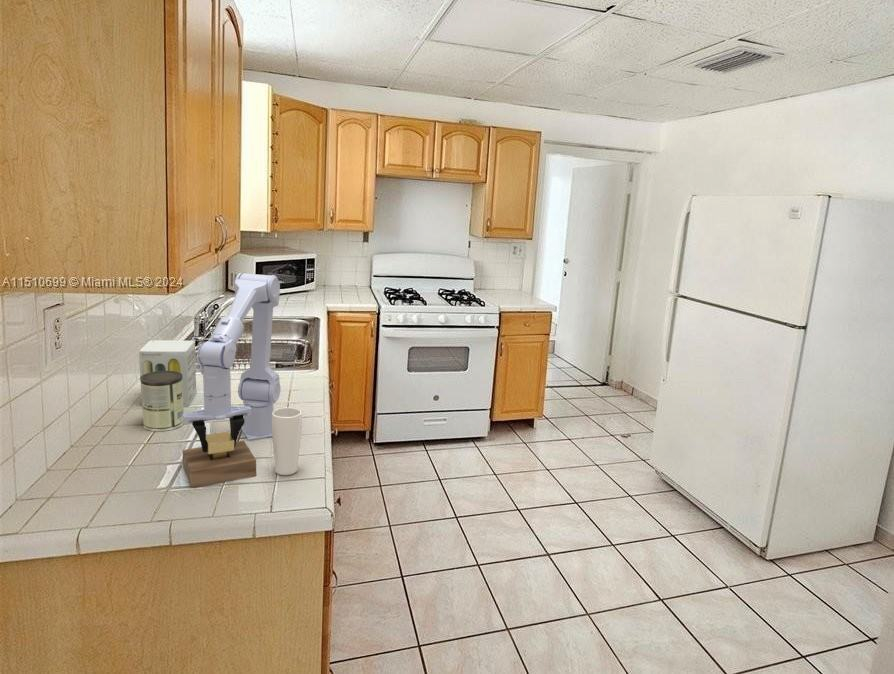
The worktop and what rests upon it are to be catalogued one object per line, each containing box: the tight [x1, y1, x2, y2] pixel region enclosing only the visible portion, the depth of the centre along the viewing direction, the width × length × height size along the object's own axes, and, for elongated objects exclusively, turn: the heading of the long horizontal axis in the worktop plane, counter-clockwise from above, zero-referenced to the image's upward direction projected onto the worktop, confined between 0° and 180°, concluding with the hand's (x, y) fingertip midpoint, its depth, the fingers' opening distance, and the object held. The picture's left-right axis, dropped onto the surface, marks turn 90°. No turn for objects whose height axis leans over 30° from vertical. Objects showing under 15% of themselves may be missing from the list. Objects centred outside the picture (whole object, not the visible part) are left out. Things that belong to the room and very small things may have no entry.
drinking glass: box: [271, 406, 303, 476], centre depth 134 cm, size 7×7×15 cm
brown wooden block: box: [181, 440, 257, 489], centre depth 133 cm, size 12×14×4 cm
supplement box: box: [138, 339, 197, 407], centre depth 173 cm, size 13×13×18 cm
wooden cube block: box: [206, 431, 234, 460], centre depth 132 cm, size 6×6×6 cm
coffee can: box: [139, 371, 185, 432], centre depth 155 cm, size 10×10×14 cm
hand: (218, 448), depth 132 cm, fingers closed on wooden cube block, 6 cm apart
